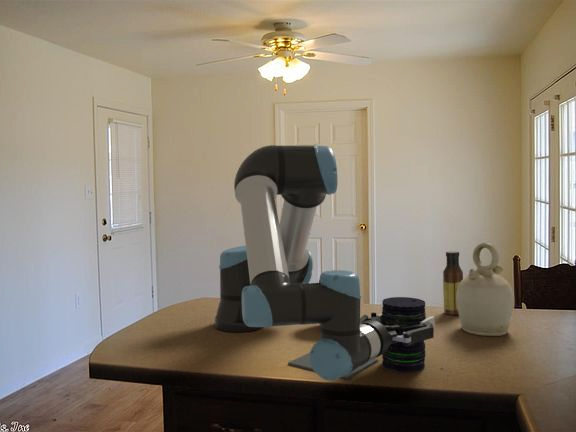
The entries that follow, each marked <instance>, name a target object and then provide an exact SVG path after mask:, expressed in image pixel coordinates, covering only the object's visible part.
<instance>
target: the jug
mask: <svg viewBox="0 0 576 432" xmlns="http://www.w3.org/2000/svg"><path fill="white" fill-rule="evenodd" d="M483 249H487V250H489V252H490V253H491V262H490V263H489V264H484V263H483V262H482V261H481V257H480V256H481V251H482V250H483ZM499 259H500V255H499V252H498V249H497V248H496V246H494V245H493V244H492V243H490V242H481V243H478V244H477V245H476V246H475V248H474V249H473V251H472V261H473V264H474V265H475V266H476V270H475V269H474V268H471V269H469V273H468V274H467V276H465V277H463V280H462V281H461V282H460V284H459V286H458V289H457V293H456V302H457V308H458V313H459V315H458V317H459V322H460V325H461V329H462V330H463V331H464V332H465V333H467V334H470V335H474V336H481V337H500V336H501V337H502V336H504V335H507V334H508V332H509V328H510V325H511V321H512V315H513V311H514V307H515V293H514V290H513V288H512V286H511V284H510V283H509V281H508V280H506V279H505V278H504V277H502V276H501V275H500V274H501V273H502V272H503V271H504V268H503V267H502V266H501V265H499Z"/></svg>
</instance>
